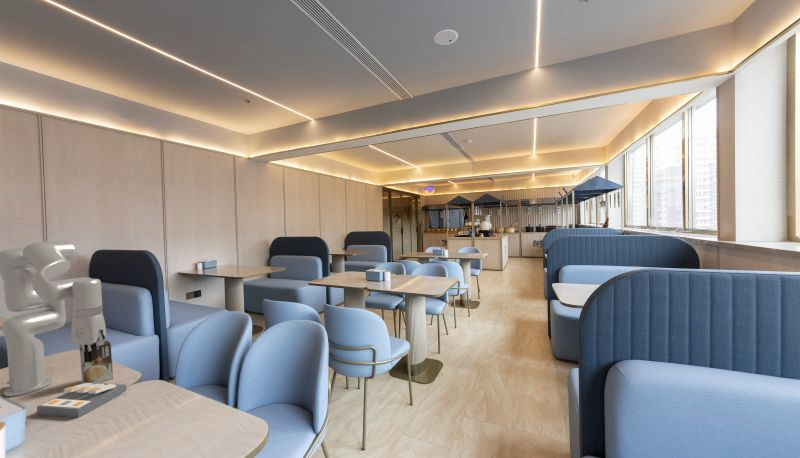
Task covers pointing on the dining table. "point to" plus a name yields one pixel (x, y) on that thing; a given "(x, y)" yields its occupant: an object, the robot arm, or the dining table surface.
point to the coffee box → (97, 365)
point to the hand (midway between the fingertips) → (91, 360)
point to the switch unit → (79, 402)
